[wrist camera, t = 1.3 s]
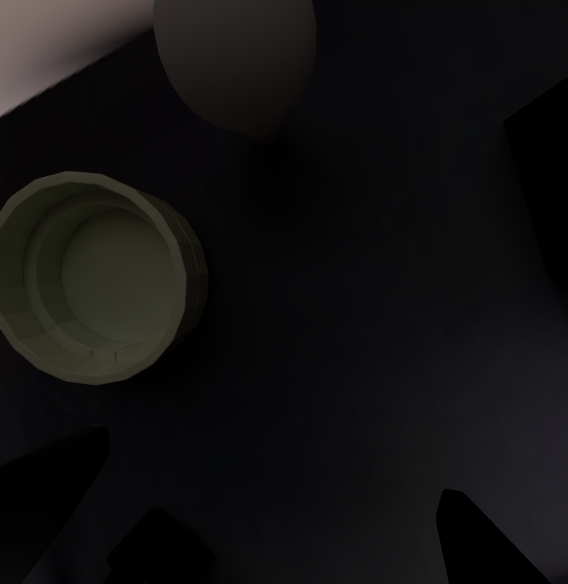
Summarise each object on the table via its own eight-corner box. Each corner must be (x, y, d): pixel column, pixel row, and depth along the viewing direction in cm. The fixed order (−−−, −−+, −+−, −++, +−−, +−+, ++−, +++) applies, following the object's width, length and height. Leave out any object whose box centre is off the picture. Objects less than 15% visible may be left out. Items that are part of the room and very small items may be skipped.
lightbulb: (259, 59, 19) (196, -210, 8) (330, 121, 19) (365, -59, 8) (201, 137, 20) (74, -9, 9) (271, 197, 20) (230, 124, 9)
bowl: (142, 390, 22) (101, 424, 18) (18, 283, 22) (-55, 290, 17) (246, 270, 21) (229, 274, 16) (113, 153, 20) (60, 123, 16)
